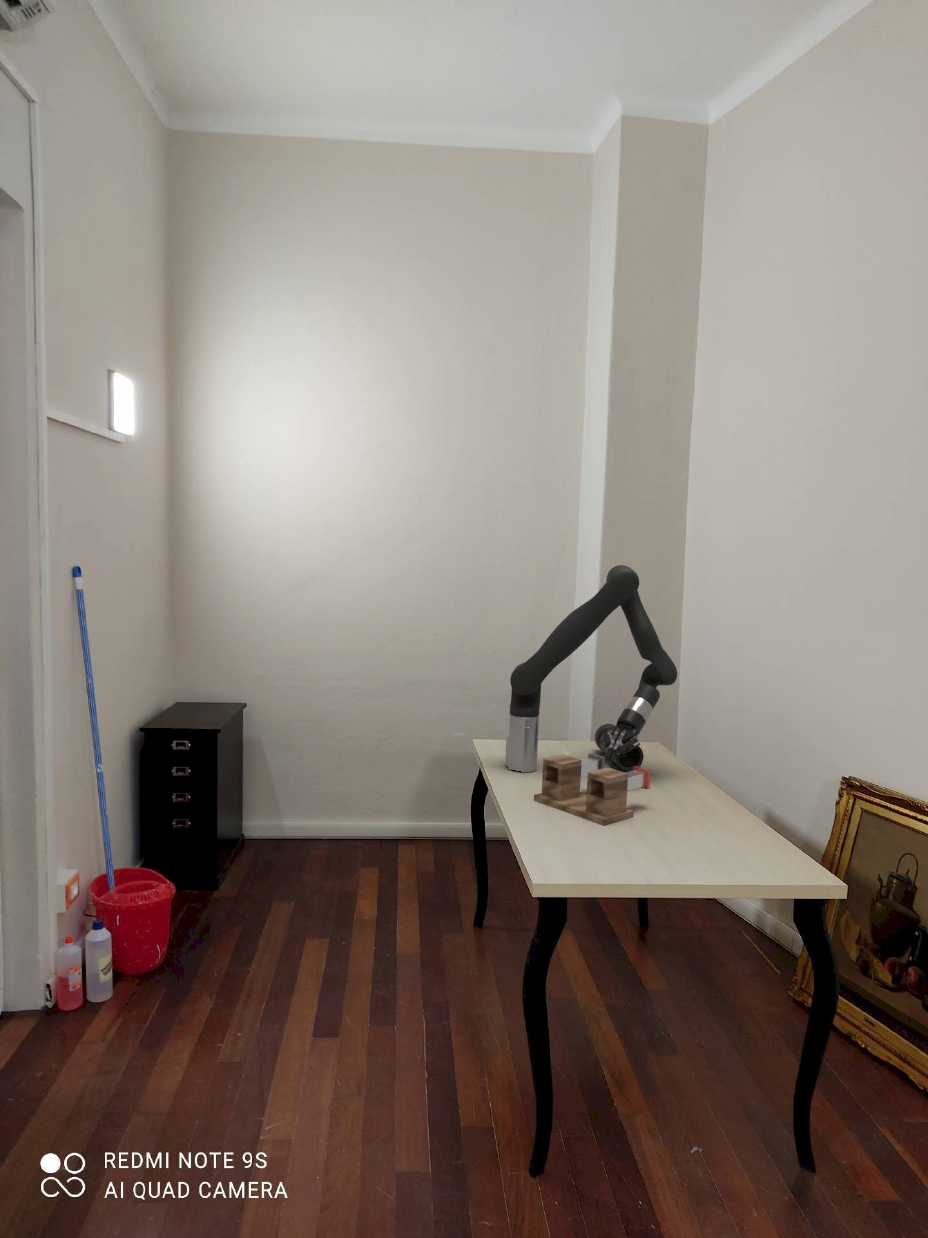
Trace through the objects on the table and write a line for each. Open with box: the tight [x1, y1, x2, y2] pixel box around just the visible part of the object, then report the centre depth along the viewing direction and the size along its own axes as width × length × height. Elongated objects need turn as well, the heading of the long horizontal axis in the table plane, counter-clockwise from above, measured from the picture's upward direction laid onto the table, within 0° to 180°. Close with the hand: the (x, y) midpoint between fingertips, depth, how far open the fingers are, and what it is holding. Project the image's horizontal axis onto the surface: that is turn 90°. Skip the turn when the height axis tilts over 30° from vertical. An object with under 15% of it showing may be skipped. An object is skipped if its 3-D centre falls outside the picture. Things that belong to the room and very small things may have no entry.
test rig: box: [533, 754, 635, 826], centre depth 228 cm, size 25×12×12 cm, turn 41°
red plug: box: [602, 766, 652, 792], centre depth 227 cm, size 5×15×5 cm, turn 131°
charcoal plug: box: [557, 753, 606, 778], centre depth 239 cm, size 5×15×5 cm, turn 131°
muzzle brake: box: [594, 723, 644, 772], centre depth 277 cm, size 10×28×10 cm, turn 5°
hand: (607, 761), depth 247 cm, fingers closed
